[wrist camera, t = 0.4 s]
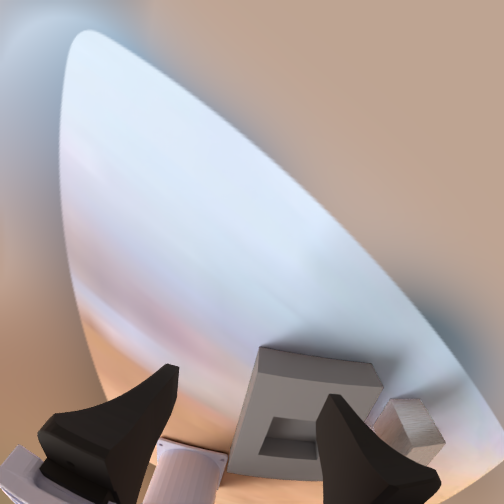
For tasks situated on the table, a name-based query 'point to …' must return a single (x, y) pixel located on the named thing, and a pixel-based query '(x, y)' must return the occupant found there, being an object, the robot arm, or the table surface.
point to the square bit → (409, 430)
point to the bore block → (294, 412)
